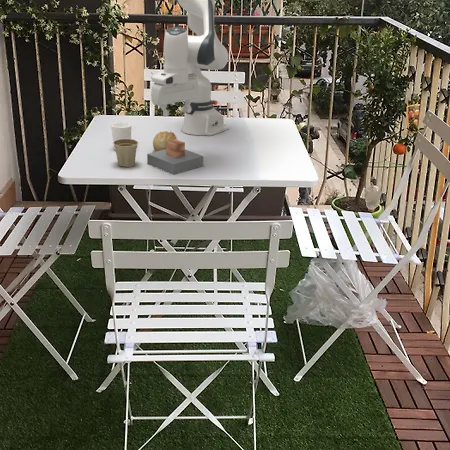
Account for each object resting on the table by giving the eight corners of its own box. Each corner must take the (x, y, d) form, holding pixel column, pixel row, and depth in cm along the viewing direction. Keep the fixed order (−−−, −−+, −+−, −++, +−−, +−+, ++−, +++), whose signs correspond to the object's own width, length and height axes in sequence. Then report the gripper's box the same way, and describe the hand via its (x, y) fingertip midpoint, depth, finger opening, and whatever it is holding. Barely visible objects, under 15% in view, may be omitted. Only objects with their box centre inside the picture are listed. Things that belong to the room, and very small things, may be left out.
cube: (176, 151, 225) (176, 139, 223) (184, 155, 222) (185, 142, 220) (166, 154, 222) (166, 141, 220) (174, 157, 219) (174, 144, 217)
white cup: (128, 152, 234) (127, 128, 230) (109, 150, 235) (108, 126, 231) (134, 147, 241) (134, 123, 237) (116, 145, 242) (115, 121, 238)
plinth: (176, 155, 233) (177, 146, 231) (203, 165, 224) (203, 155, 222) (147, 163, 223) (147, 153, 222) (173, 174, 214) (173, 164, 212)
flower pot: (127, 170, 216) (127, 147, 212) (108, 165, 220) (107, 142, 217) (144, 163, 223) (143, 141, 220) (125, 158, 228) (124, 137, 224)
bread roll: (177, 146, 245) (177, 127, 242) (176, 157, 232) (176, 138, 228) (154, 145, 245) (154, 126, 241) (151, 156, 231) (151, 137, 228)
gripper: (191, 70, 218) (190, 107, 224) (148, 77, 205) (148, 116, 211) (203, 73, 214) (202, 111, 220) (160, 80, 201) (160, 120, 207)
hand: (175, 113), depth 215 cm, fingers open, 8 cm apart
